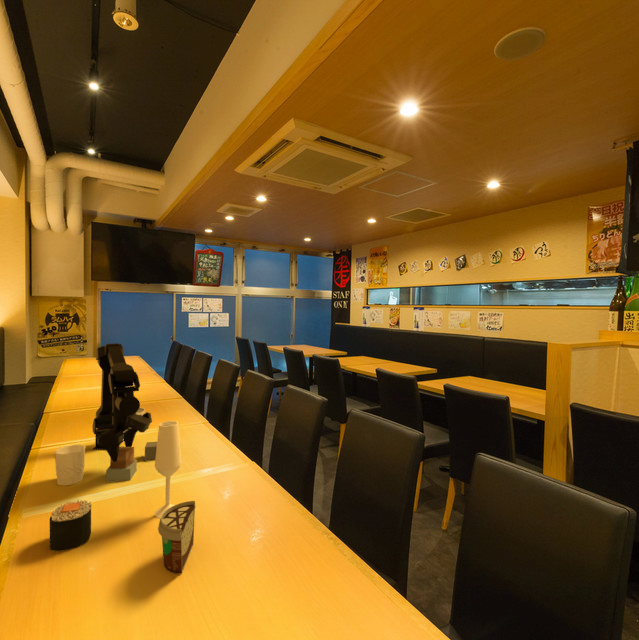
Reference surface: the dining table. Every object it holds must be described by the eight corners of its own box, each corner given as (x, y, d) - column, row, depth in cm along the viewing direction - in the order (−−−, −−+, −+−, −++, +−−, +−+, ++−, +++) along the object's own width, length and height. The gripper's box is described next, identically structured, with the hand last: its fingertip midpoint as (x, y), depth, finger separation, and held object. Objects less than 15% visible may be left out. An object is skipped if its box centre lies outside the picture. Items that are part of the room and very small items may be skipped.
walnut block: (125, 468, 117) (126, 452, 117) (110, 468, 117) (110, 452, 117) (134, 461, 122) (134, 447, 122) (118, 461, 122) (119, 446, 122)
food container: (168, 541, 87) (168, 500, 87) (195, 540, 88) (195, 499, 88) (148, 580, 75) (149, 531, 75) (179, 578, 76) (180, 530, 75)
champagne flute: (161, 504, 104) (162, 419, 103) (184, 505, 103) (186, 420, 103) (149, 518, 97) (150, 427, 96) (174, 519, 97) (175, 428, 96)
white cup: (52, 488, 111) (52, 455, 110) (57, 477, 118) (57, 446, 117) (83, 483, 114) (83, 451, 114) (86, 473, 121) (86, 443, 121)
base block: (106, 482, 116) (106, 470, 116) (113, 472, 123) (113, 461, 123) (130, 481, 117) (130, 468, 117) (136, 471, 124) (136, 459, 124)
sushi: (45, 555, 82) (45, 519, 81) (55, 533, 89) (55, 501, 89) (88, 546, 85) (88, 512, 85) (94, 526, 93) (94, 495, 92)
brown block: (144, 461, 132) (144, 447, 132) (146, 455, 137) (146, 442, 137) (159, 459, 133) (160, 446, 133) (161, 454, 138) (161, 441, 138)
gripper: (135, 416, 110) (134, 468, 111) (159, 400, 129) (158, 445, 129) (96, 416, 110) (96, 468, 110) (126, 400, 128) (126, 444, 129)
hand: (122, 455), depth 120 cm, fingers open, 9 cm apart
